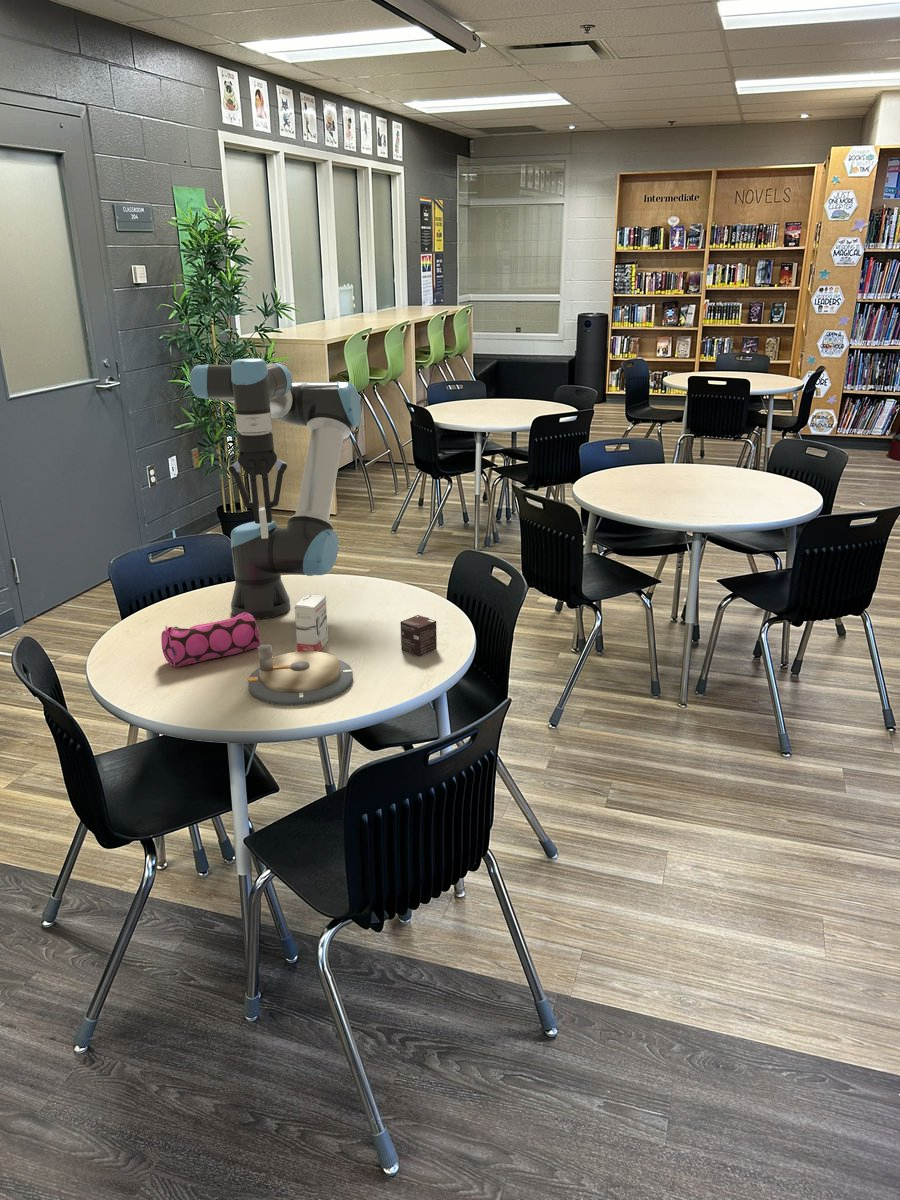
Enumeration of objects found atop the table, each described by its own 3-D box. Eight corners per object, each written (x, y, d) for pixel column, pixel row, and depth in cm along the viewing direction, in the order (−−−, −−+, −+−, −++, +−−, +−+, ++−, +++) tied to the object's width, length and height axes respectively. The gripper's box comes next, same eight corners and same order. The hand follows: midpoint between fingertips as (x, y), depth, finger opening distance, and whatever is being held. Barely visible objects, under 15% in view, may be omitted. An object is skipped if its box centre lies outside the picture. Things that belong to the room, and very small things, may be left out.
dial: (255, 695, 181) (252, 663, 179) (264, 661, 197) (261, 632, 195) (339, 690, 182) (337, 658, 180) (341, 657, 198) (339, 628, 196)
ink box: (317, 655, 204) (313, 606, 200) (296, 654, 205) (292, 605, 201) (329, 641, 212) (326, 594, 208) (309, 640, 213) (306, 593, 209)
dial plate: (251, 666, 199) (250, 658, 198) (349, 657, 202) (349, 650, 201) (246, 709, 178) (245, 701, 178) (356, 699, 182) (355, 691, 181)
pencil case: (175, 676, 195) (169, 633, 192) (161, 662, 203) (155, 621, 199) (266, 652, 206) (262, 612, 203) (249, 640, 214) (245, 601, 210)
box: (400, 651, 205) (399, 621, 203) (419, 643, 209) (417, 614, 207) (419, 657, 201) (418, 627, 199) (437, 650, 205) (436, 620, 203)
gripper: (223, 436, 189) (234, 543, 197) (285, 433, 191) (294, 539, 199) (225, 431, 196) (236, 534, 204) (285, 428, 198) (293, 530, 206)
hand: (264, 536), depth 202 cm, fingers closed
